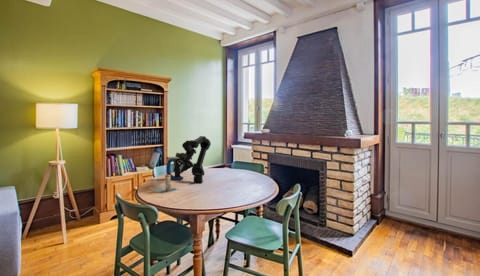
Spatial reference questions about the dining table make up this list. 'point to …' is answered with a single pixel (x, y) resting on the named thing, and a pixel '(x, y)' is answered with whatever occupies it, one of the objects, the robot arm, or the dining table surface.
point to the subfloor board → (161, 189)
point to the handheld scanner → (168, 169)
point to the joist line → (167, 191)
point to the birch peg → (168, 182)
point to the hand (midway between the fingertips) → (176, 172)
